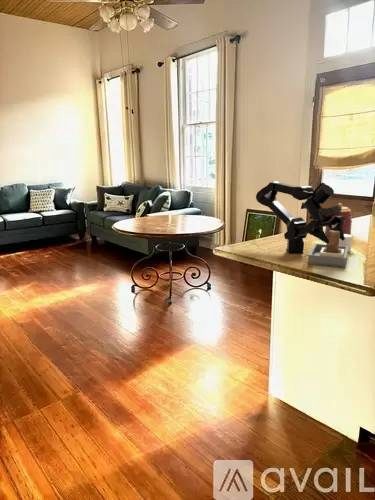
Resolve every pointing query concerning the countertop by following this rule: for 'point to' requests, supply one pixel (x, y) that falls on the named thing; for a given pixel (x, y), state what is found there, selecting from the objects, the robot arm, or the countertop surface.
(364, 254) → the countertop surface
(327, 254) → the walled box
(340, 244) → the white cube
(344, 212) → the canister
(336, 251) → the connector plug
